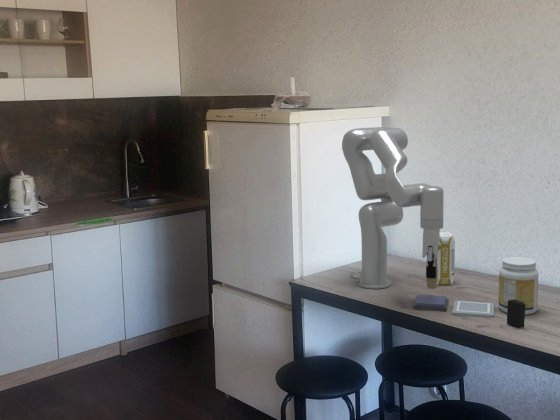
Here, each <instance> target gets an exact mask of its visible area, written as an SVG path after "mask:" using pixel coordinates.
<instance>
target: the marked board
mask: <svg viewBox="0 0 560 420" xmlns="http://www.w3.org/2000/svg"><path fill="white" fill-rule="evenodd" d="M494 307H495V303H494V302H485V301H483V302H482V301H467V300H454V302H453V307H452V310H451V311H452V312H451V315H452V316H464V317H465V316H466V317H479V318H494V317H495V308H494Z"/></svg>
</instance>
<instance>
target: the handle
mask: <svg viewBox="0 0 560 420" xmlns="http://www.w3.org/2000/svg"><path fill="white" fill-rule="evenodd" d="M440 249H441V245H439V246H438V251H439V250H440ZM432 257H434V256H432ZM432 260H433V259H432ZM426 266H427V262H426ZM426 266H425V267H426ZM435 266H436V278H426V277H425V280H426V287H427V289H432V290H434V289H437V288H438V285H436V283H437V280H438V265H437V258H435Z"/></svg>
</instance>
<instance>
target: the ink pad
mask: <svg viewBox="0 0 560 420" xmlns="http://www.w3.org/2000/svg"><path fill="white" fill-rule="evenodd" d="M449 300H450V298H449V297H447V295H435V294H434V295H433V294H432V295H431V294H418V295H417V296H416V297H415V299H414V302H413V304H412V310H420V311H435V312H447V311H448V306H449Z"/></svg>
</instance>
